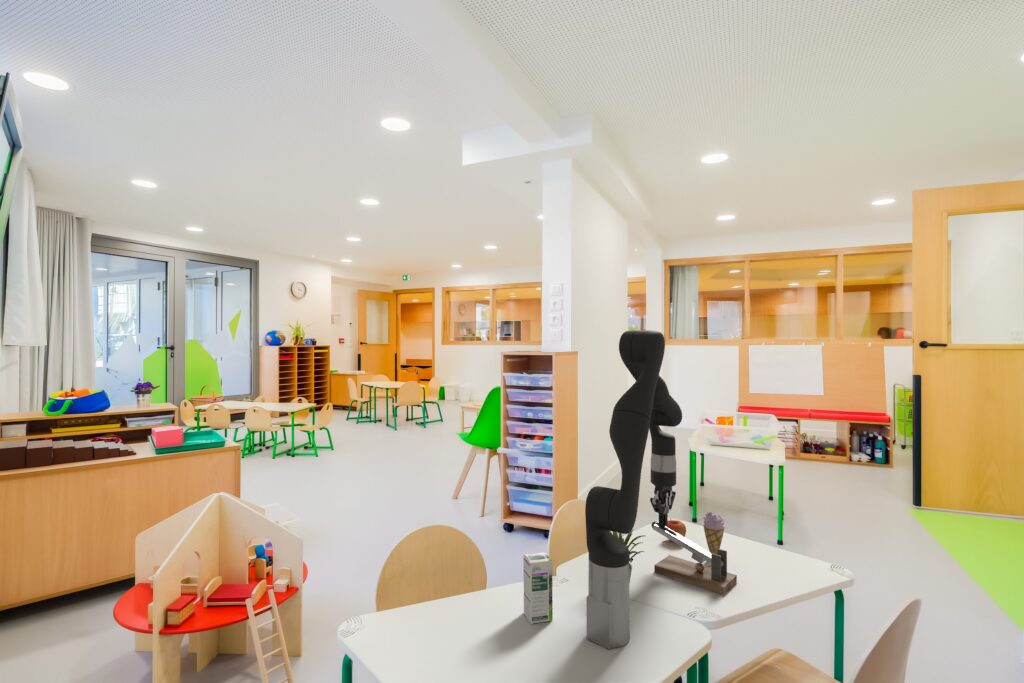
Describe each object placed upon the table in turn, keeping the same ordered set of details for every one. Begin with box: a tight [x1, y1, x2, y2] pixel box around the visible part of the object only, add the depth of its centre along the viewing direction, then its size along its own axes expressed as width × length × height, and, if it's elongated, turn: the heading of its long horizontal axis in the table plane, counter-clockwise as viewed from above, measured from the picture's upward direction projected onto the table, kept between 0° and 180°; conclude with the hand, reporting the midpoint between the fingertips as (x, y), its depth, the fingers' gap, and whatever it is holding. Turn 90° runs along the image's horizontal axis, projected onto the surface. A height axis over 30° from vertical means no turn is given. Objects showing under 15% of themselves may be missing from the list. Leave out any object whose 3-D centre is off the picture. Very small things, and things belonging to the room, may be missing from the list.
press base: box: [653, 548, 738, 596], centre depth 140 cm, size 10×20×9 cm, turn 47°
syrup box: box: [522, 551, 554, 625], centre depth 118 cm, size 6×6×14 cm
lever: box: [651, 520, 725, 567], centre depth 142 cm, size 3×22×3 cm, turn 47°
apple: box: [666, 518, 687, 543], centre depth 167 cm, size 7×7×8 cm
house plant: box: [612, 528, 645, 585], centre depth 132 cm, size 14×14×16 cm
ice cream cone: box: [702, 510, 726, 555], centre depth 153 cm, size 7×6×15 cm
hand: (663, 525), depth 147 cm, fingers closed
